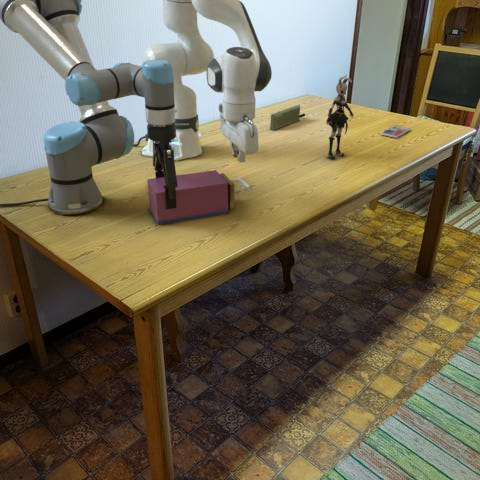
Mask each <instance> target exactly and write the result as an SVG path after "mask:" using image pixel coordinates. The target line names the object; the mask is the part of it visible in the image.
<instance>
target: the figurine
mask: <svg viewBox="0 0 480 480" xmlns="http://www.w3.org/2000/svg"><path fill="white" fill-rule="evenodd" d="M347 76H348V75H347V74H345V75H344V76H341V77H340V78H339V79H338V83H337V84H336V87H335V91H336V93H337V96H335V97H334V99H333V102H332V104H331V106H330V107H329V110H328V113H327V118H326V122H325V124H326V125H327V126H330V127H331V133H330V136H328V139H329V145H328V146H329V149H328V152H327V158H329V159H330V160H335V159H336V157H335V155H338V156H339V157H344V156H345V153H344V152H342V151H341V149H340V146H341V145H340V144H341V138H342V136H343V135H342V133H343V129H344V128H345V130H344V135H347V132H348V128H349V125H348V120H349V118H354V113H353V111H352V110H351V107H350V106H349V105H348V101H347V100H346V95H347V90H348V85H347V82H349V83H351V84H352V83H353V81H352V79H351V77H347ZM334 107H336V110H334ZM345 109H347V111H348V112H349V117H348V116H347V115H346V111H345ZM333 110H334V112H333ZM334 141H336V149H335V155H334V153H333V145H334Z"/></svg>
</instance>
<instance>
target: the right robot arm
mask: <svg viewBox="0 0 480 480" xmlns="http://www.w3.org/2000/svg"><path fill="white" fill-rule="evenodd" d="M198 14H199V15H201V16H202V17H204V19H207V20H210V21H214V22H216V23H219V24H222V25H225V26H226V27H228V28H230V29H231V30H232V31H233V32H234V33H235V34H236V37H237V40H238V42H239V44H240V46H232V47H229V48H227V49H226V50H225V51H224V54H223V55H221V56H217V57H215V55H214V54H215V53H214V51H213V48H212V46H210V44H209V43H208V42H206V40H204V38H203V37H202V35H201V32H200V29H199V25H198V24H199V23H198ZM162 21H163V24H164V26H165V27H166V28H167V29H168V31H171V32H173V33H174V34H176V35H177V42H170V43H169V42H168V43H158V44H154V45H152V46H150V47H147V48H146V49H145V50H144V52H143V56H142V64H143V63H144V62H145V61H148V60H165V61H168V62H170V63H171V65H172V70H173V77H174V104H175V109H176V110H177V112H176V113H175V122H174V123H175V124H176V137H175V138H174V139H173V140H170V141H169V144H170V145H171V147H172V150H173V151H174V161H175V162H178V161H182V160H185V159H190V158H191V159H192V158H196V157H198V156H200V155H202V153H203V149H202V148H203V147H202V145H201V142H200V137H201V136H202V134H201V133H199V128H200V121H199V114H198V103H197V100H198V99H197V94H196V92H195V91H194V89H192V88H191V87H189V86H187V85H185V84H183V79H182V77H185V76H194V75H199V74H203V73H205V72H206V83H207V86H208V87H209V88H210V89H211V90H212V91H214V92H215V93H220V94H223V99H222V102H220V103H218V112H219V122H220V131H221V134H222V136H224V137H225V138H226V139H227V140H229V141H230V142H229V143H230V148H231V155H232V157H234V158H237V161H238V162H239V163H241V164H242V163H245V162H246V156H247V155H255V154H257V153H258V151H259V131H258V128H257V125H256V124H254V119H255V118H256V96H255V92H262V91H263V90H265V89H266V88H267V86H268V85H269V83H270V82H271V80H272V77H273V72H272V67H271V63H270V61H269V60H268V58H267V56H266V54H265V53H264V51H263V48H262V46H261V44H260V43H261V42H260V40H259V37H258V35H257V33H256V30H255V27H254V25H253V22H252V20H251V18H250V15H249V13H248V11H247V8H246V6H245V4H244V3H243V1H241V0H162ZM144 139H145V142H147V145H145V146H144V147H143V148H142V150H141V155H142V156H145V157H152V158H153V140H150V139H149V138H148V133H146V134H145V135H144V136H141V137H139V139H138V140H137V143H136V144H135V143H133V147H138V146H139V145H140V143H141V141H142V140H144Z"/></svg>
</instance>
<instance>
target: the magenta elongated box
mask: <svg viewBox="0 0 480 480" xmlns="http://www.w3.org/2000/svg"><path fill="white" fill-rule="evenodd" d="M220 174H221V173H219V172H218V171H217V170H216V169H214V170H207V171H199V172H191V173H183V174H176V178H177V184H178V187H175V190H176V208H173V209H166V198H165V188H163V186H166V184H165V178H164V177H160V178H156V177H152V178H147V179H146V180H147V193H148V203H149V211H150V212H151V214H152V216H153V217H154V220H155V222H156V223H157V225H165V224H170V223H176V222H182V221H189V220H194V219H200V218H201V219H202V218H207V217H213V216H214V217H215V216H220V215H225V214H229V206H228V183H227V182H226V180H225V179H224V178H223V177H222V176H221V175H220Z"/></svg>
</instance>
